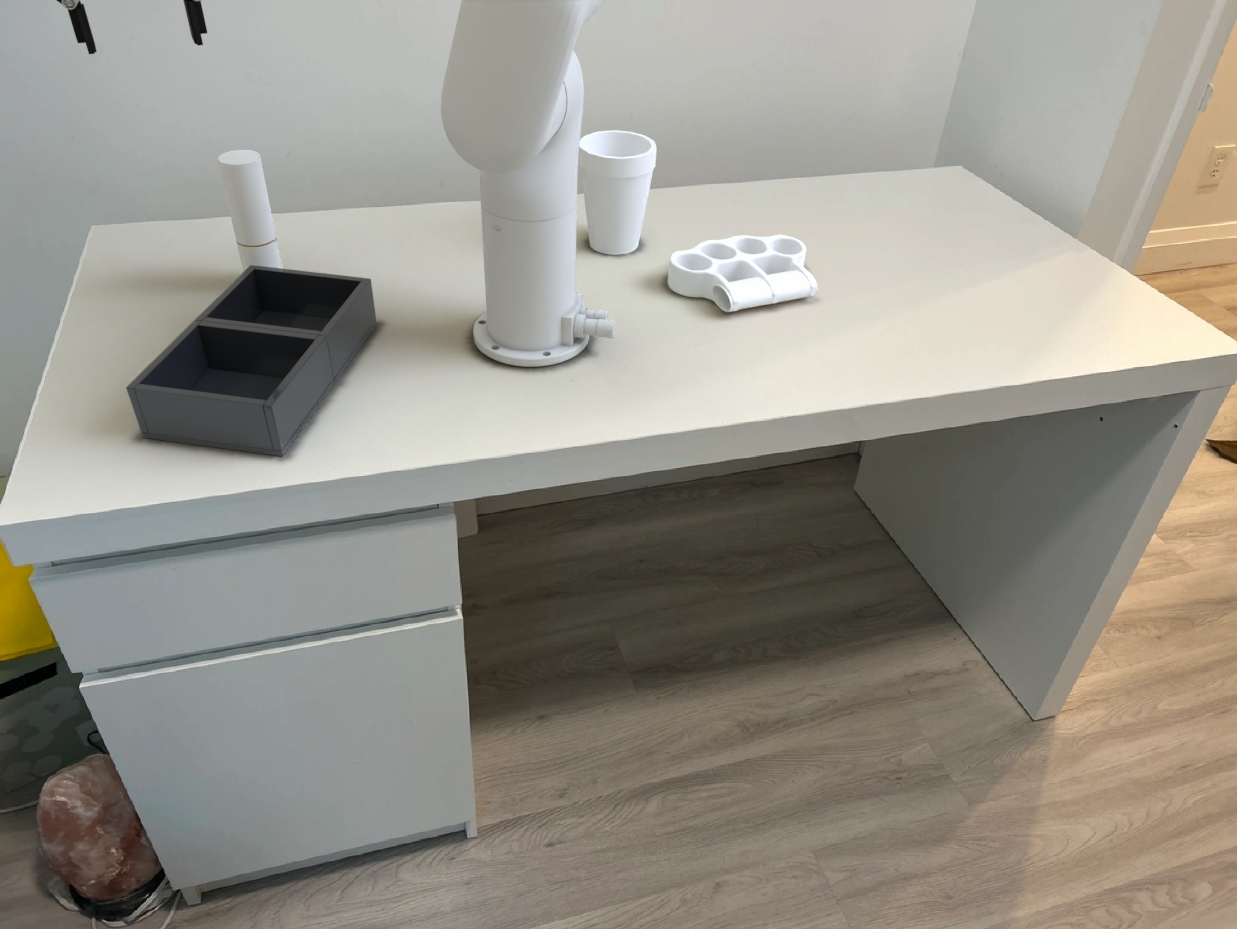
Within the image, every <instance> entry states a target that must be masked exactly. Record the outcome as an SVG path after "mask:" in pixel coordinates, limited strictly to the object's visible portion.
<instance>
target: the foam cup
mask: <svg viewBox="0 0 1237 929" xmlns="http://www.w3.org/2000/svg"><path fill="white" fill-rule="evenodd" d="M656 144H657V143H656V141H655V140H654V139H652V138H651V137H649V136H647V135H645V134H641V133H638V132H635V131H627V130H616V129H614V130H613V129H612V130H600V131H599V130H598V131H595V132H592V133H591V132H590V133H588V134H585V135H583V137H581V138H580V143H579V156H578V166H579V167H580V172H581V181H582V189H583V198H584V207H585V215H586V225H587V232H588V240H589V246H590V248H592V250H594V251H595V252H598V253H601V254H604V255H613V256H619V255H627V254H630V253H632V252H634V251H636V249H637V248H638V247H639V242H640V239H641V234H642V229H643V225H644V219H645V214H646V209H647V205H648V198H649V193H650V188H651V183H652V178H653V173H654V169H655V168H656V164H657V148H658V147H657V145H656Z"/></svg>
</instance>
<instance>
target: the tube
mask: <svg viewBox="0 0 1237 929" xmlns="http://www.w3.org/2000/svg"><path fill="white" fill-rule="evenodd" d="M217 162H218V166H219V171H220V174H221V179H222V183H223V188H224V194H225V198H226V202H227V206H228V210H229V215H230V219H231V223H232V228H233V232H234V237H235V241H236V245H237V250H238V254H239V259H240V263H241V268H242V273H243V272H244V271H245V270H246V269H247V268H248V267H249V266H250V265H254V266H264V267H273V268H281V269H283V265H282V260H281V255H280V250H279V244H278V240H277V237H276V236H277V235H276V229H275V225H274V220H273V214H272V209H271V204H270V199H269V194H268V188H267V183H266V178H265V173H264V169H263V164H262V163H263V162H262V158H261V154H260V153H259V152H257V151H255V150H250V149H234V150H230V151H226V152H224V153H221V154H220V155H219V156H218V157H217Z"/></svg>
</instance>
